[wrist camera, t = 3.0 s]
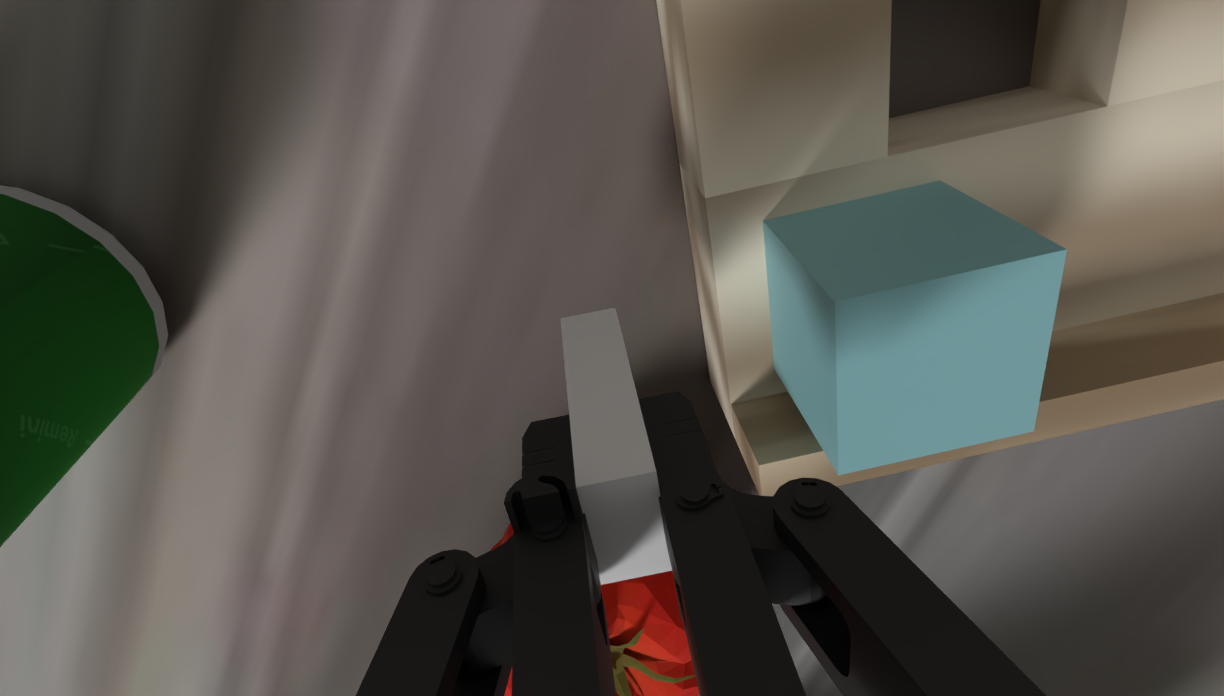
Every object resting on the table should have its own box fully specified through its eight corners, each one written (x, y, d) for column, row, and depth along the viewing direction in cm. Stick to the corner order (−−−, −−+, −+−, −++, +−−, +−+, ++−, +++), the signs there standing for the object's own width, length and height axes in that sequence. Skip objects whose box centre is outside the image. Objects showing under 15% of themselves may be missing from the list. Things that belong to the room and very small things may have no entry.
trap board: (1434, 217, 25) (1693, 293, 19) (710, 381, 25) (762, 503, 20) (1751, -435, 16) (2397, -640, 11) (631, -175, 16) (685, -243, 11)
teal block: (929, 333, 21) (1033, 431, 16) (774, 368, 21) (838, 475, 17) (940, 180, 18) (1067, 249, 14) (762, 220, 18) (834, 301, 14)
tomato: (701, 432, 26) (756, 586, 20) (693, 582, 31) (736, 746, 25) (464, 454, 26) (443, 621, 19) (492, 604, 30) (482, 779, 24)
